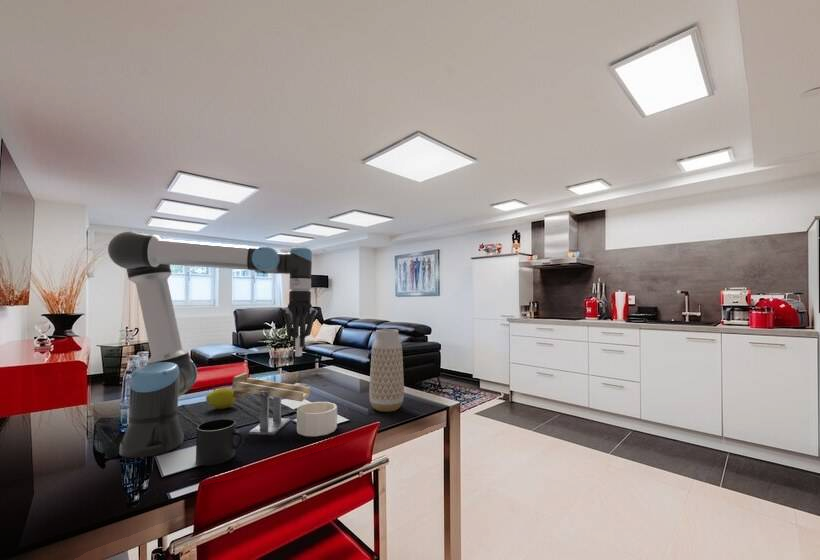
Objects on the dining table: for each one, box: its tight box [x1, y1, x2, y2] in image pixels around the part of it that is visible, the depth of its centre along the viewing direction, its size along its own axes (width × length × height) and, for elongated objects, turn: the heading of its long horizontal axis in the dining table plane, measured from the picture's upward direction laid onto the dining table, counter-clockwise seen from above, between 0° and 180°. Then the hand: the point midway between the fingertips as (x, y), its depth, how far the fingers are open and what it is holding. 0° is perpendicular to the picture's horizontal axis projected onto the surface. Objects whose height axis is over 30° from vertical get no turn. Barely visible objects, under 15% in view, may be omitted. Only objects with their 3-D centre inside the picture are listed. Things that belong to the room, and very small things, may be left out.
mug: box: [195, 418, 245, 467], centre depth 97 cm, size 9×12×9 cm
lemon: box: [205, 387, 238, 410], centre depth 139 cm, size 11×8×8 cm
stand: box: [248, 391, 291, 436], centre depth 120 cm, size 8×13×13 cm, turn 176°
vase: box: [368, 328, 405, 413], centre depth 141 cm, size 14×14×31 cm
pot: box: [296, 401, 338, 437], centre depth 119 cm, size 13×13×7 cm
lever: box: [231, 372, 311, 402], centre depth 124 cm, size 24×15×7 cm, turn 85°
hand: (298, 355), depth 128 cm, fingers closed
